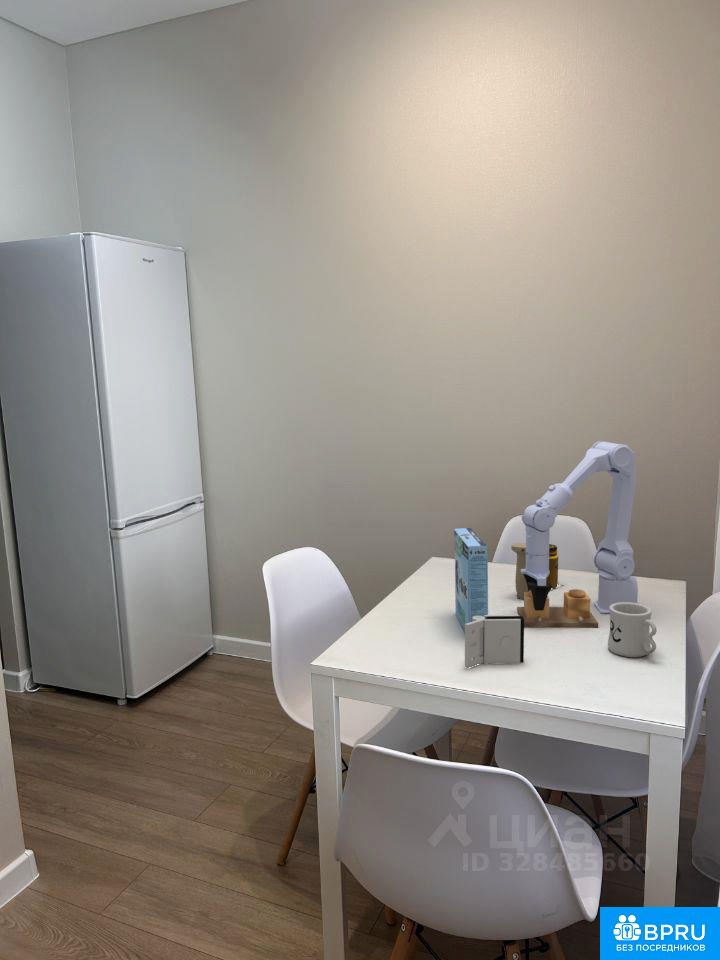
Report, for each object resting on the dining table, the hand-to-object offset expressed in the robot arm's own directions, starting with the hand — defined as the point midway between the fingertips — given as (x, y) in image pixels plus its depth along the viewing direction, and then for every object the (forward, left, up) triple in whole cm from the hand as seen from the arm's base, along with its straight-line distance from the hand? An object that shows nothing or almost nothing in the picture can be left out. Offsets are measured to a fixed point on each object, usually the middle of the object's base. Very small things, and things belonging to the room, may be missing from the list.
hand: (536, 605), depth 189 cm
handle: (+1, -17, -4) cm, 17 cm away
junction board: (-5, 0, -4) cm, 6 cm away
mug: (-18, +22, -4) cm, 29 cm away
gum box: (+17, +5, -4) cm, 18 cm away
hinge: (+14, +28, -4) cm, 32 cm away
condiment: (-7, -28, -4) cm, 29 cm away
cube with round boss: (0, 0, -2) cm, 2 cm away
